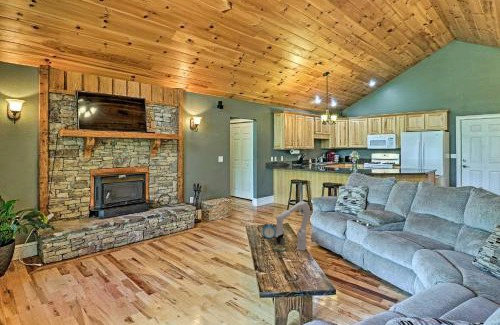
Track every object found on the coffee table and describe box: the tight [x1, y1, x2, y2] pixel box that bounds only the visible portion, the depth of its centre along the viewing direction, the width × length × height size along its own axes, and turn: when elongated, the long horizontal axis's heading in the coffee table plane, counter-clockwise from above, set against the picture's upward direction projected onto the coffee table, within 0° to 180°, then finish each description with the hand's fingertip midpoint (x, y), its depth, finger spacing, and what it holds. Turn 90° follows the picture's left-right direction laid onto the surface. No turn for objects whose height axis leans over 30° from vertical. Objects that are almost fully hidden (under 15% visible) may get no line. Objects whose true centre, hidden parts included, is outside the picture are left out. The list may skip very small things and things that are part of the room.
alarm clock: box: [262, 223, 277, 239], centre depth 297 cm, size 13×6×15 cm, turn 88°
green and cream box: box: [272, 245, 287, 253], centre depth 262 cm, size 8×10×5 cm
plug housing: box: [271, 236, 286, 247], centre depth 263 cm, size 4×12×6 cm, turn 61°
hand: (279, 242), depth 262 cm, fingers closed on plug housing, 4 cm apart
